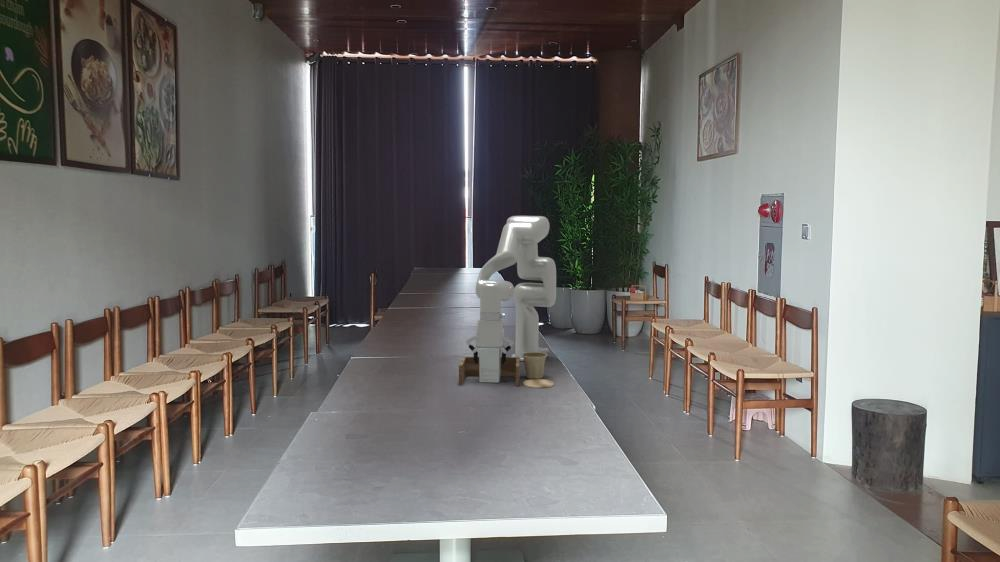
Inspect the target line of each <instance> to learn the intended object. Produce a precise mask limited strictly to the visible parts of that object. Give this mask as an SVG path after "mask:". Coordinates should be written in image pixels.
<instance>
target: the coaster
mask: <svg viewBox="0 0 1000 562" xmlns="http://www.w3.org/2000/svg"><path fill="white" fill-rule="evenodd" d="M523 386H524V387H528V388H533V389H548V388H552V387H554V386H555V382H554V381H552V380H549V379H544V378H540V379H535V378H533V379H530V378H529V379H526V380H524V381H523Z"/></svg>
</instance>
